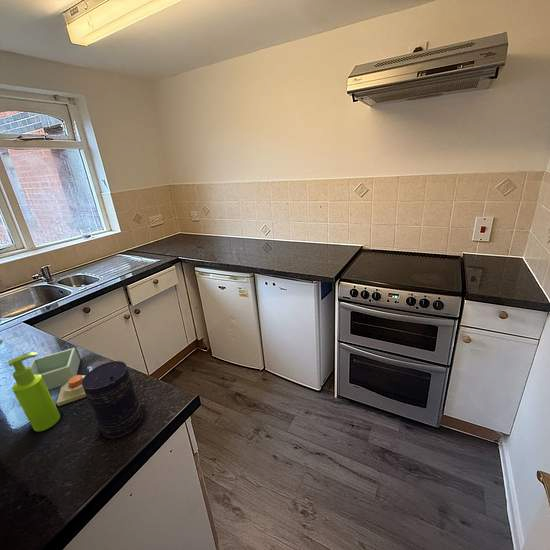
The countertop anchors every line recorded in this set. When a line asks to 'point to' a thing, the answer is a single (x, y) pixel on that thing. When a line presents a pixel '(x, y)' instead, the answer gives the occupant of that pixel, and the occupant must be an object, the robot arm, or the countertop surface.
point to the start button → (75, 381)
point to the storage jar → (113, 398)
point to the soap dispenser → (33, 395)
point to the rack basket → (56, 367)
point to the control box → (70, 394)
